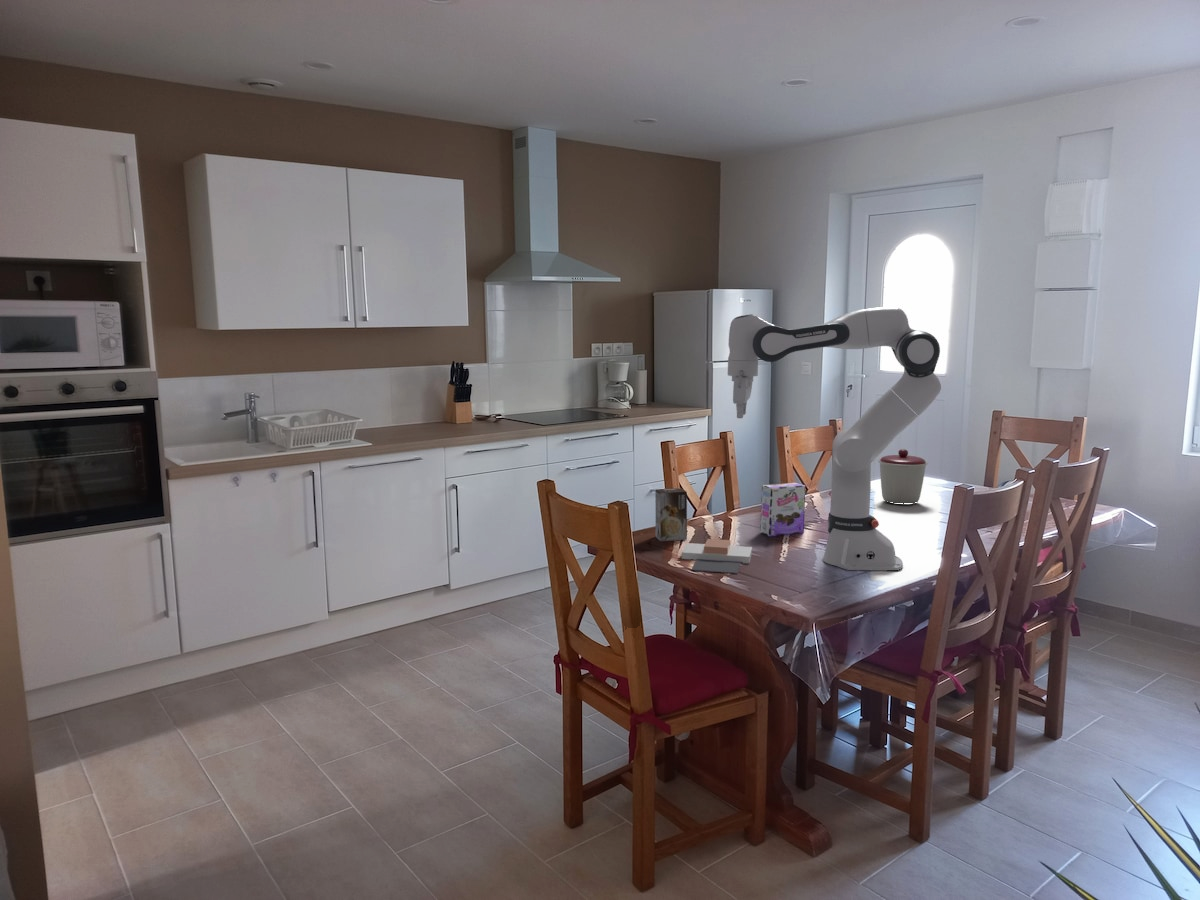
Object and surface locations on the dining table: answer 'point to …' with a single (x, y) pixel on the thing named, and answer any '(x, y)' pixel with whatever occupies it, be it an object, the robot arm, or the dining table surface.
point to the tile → (717, 546)
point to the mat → (716, 566)
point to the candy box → (782, 509)
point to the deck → (733, 555)
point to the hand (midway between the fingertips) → (741, 416)
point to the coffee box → (671, 514)
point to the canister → (902, 477)
